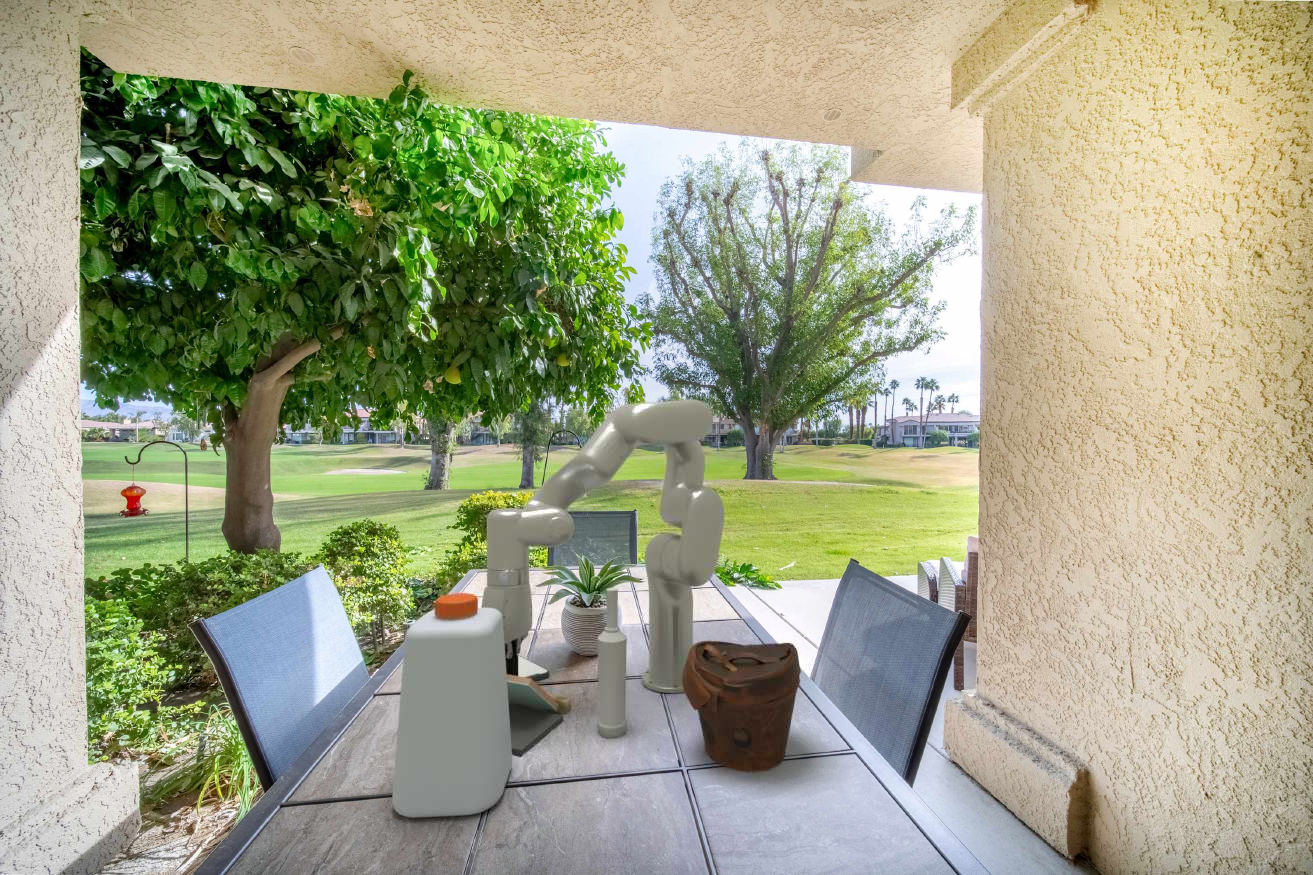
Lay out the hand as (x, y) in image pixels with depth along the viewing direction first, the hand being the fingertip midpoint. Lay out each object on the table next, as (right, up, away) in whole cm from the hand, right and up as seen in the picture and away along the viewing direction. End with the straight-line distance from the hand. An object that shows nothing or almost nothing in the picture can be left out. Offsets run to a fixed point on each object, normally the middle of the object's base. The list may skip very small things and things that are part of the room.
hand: (508, 677), depth 104 cm
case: (+41, -8, -10) cm, 43 cm away
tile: (+2, -7, +5) cm, 9 cm away
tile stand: (+3, -9, +7) cm, 12 cm away
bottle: (+19, -8, -3) cm, 21 cm away
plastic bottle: (-3, -8, -20) cm, 22 cm away
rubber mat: (-1, -8, -2) cm, 9 cm away
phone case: (-5, -10, +24) cm, 26 cm away
